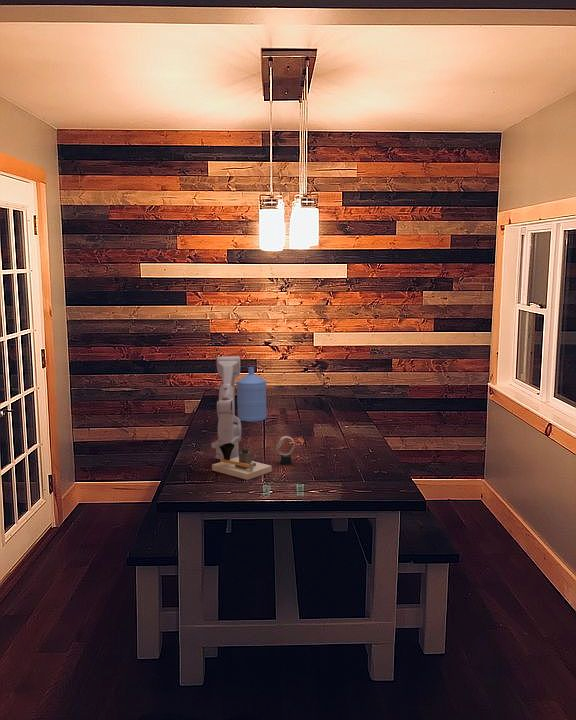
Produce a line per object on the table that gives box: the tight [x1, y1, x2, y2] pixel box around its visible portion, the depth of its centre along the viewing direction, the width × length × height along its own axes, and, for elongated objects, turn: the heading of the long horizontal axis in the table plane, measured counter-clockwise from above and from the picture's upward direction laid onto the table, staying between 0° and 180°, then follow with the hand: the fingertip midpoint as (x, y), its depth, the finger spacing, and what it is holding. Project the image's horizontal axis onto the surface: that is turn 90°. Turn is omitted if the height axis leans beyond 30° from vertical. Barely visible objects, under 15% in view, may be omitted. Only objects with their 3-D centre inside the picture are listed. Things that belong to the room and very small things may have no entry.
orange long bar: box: [219, 459, 254, 470], centre depth 275 cm, size 16×2×2 cm, turn 56°
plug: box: [235, 447, 256, 469], centre depth 277 cm, size 6×6×10 cm
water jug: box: [236, 366, 268, 423], centre depth 368 cm, size 16×16×28 cm
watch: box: [275, 435, 296, 465], centre depth 289 cm, size 6×8×11 cm
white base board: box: [211, 457, 273, 481], centre depth 279 cm, size 20×14×2 cm
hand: (226, 461), depth 279 cm, fingers closed, pressing on orange long bar
